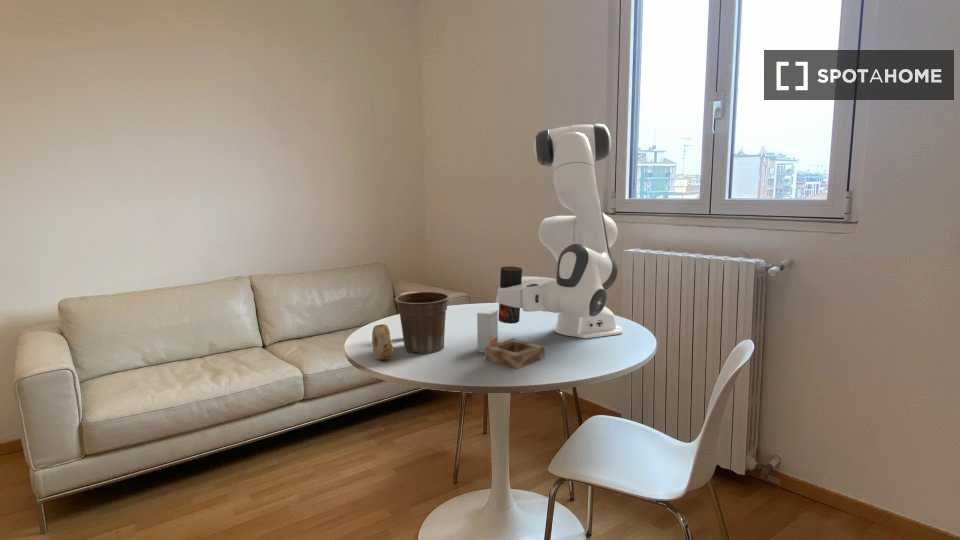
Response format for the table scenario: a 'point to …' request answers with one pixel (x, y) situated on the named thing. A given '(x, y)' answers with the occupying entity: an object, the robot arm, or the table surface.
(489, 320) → the skincare box
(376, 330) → the stone disc
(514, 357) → the walnut socket block
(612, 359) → the table surface
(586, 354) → the table surface
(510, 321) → the deodorant
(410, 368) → the table surface
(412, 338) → the plant pot
